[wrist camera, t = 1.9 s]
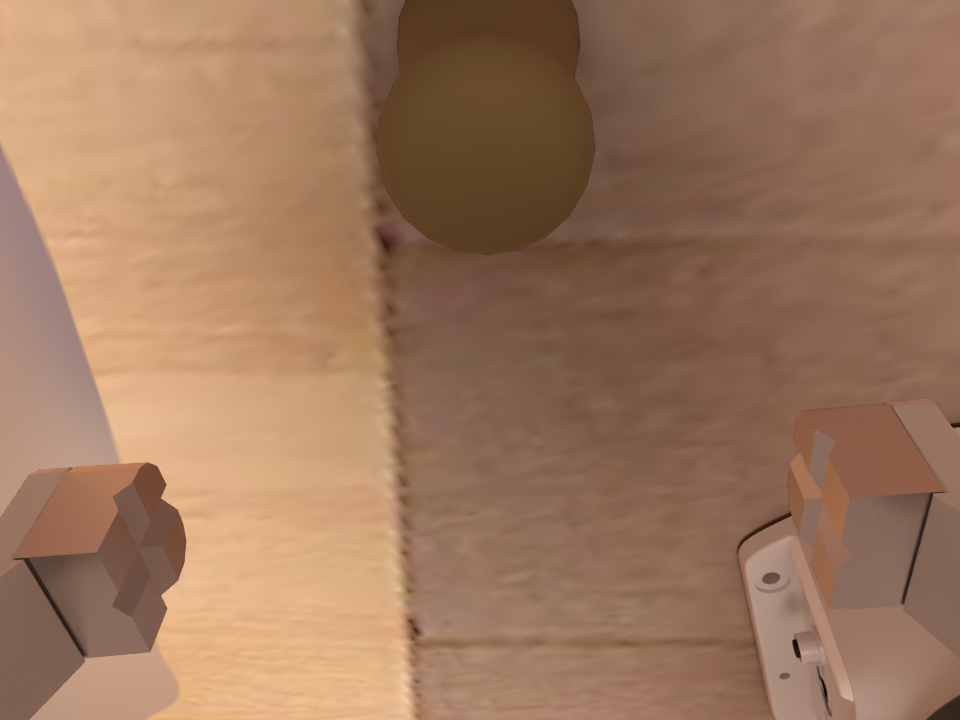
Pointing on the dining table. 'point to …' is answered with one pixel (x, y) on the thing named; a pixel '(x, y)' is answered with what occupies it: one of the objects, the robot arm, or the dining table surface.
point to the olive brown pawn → (486, 122)
